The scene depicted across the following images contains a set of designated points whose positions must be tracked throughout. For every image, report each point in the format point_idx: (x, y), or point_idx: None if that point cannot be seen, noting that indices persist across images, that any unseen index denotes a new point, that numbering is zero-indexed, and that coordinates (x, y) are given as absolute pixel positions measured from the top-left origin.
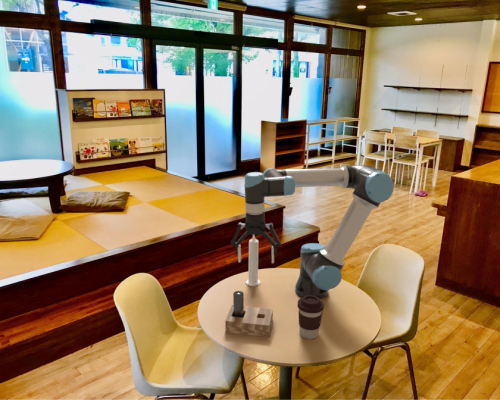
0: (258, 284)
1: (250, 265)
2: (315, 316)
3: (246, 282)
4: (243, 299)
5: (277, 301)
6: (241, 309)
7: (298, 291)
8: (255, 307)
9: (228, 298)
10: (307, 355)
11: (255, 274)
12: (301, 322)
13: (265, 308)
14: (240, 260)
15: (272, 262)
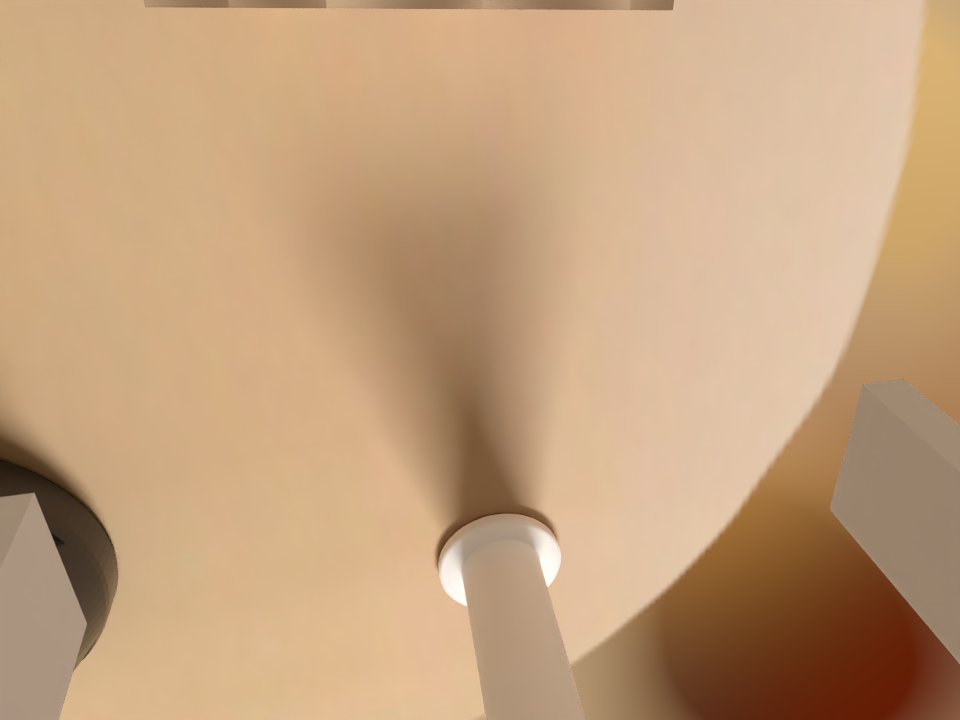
0: (449, 545)
1: (558, 684)
2: None
3: (553, 544)
4: None
5: (222, 348)
6: None
7: (44, 510)
8: (378, 4)
9: (681, 296)
10: None
11: (491, 615)
12: None
13: (246, 4)
14: (867, 439)
15: (4, 509)
